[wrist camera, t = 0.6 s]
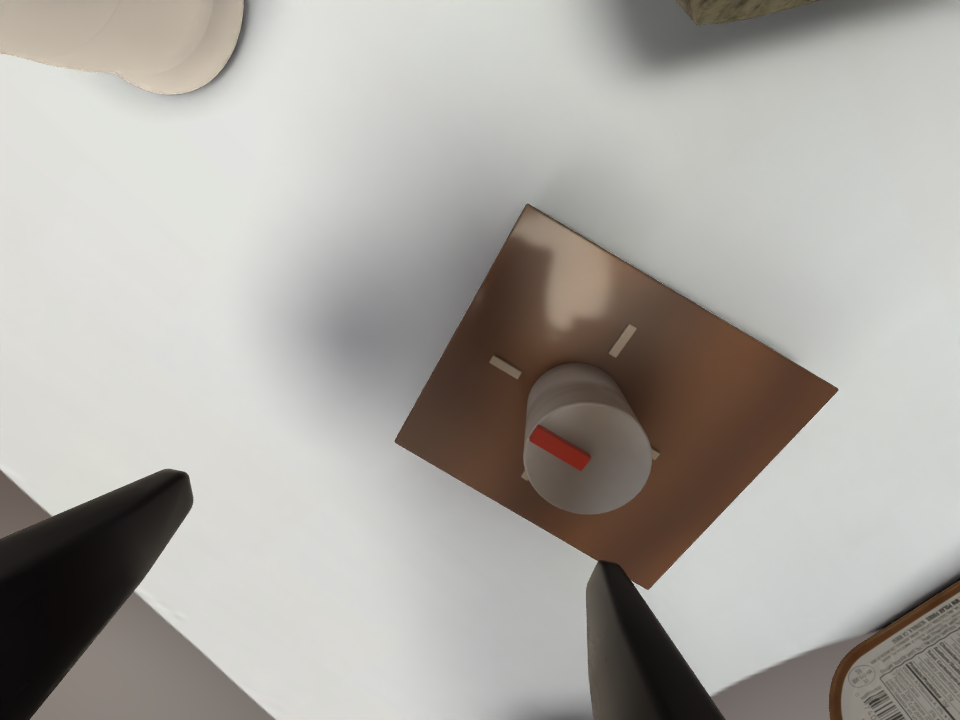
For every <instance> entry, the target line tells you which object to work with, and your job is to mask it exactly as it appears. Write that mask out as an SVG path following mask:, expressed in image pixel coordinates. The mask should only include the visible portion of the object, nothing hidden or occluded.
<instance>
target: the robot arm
mask: <svg viewBox="0 0 960 720" xmlns="http://www.w3.org/2000/svg"><path fill="white" fill-rule="evenodd" d="M192 505H193V494H192V489H191V484H190V479H189V475H188V474H187V473H186V472H183V471H178V470H173V469H164V470H161V471H159V472H156V473H154V474H152V475H149V476H147V477H145V478H142V479H140V480H138V481H135V482H133V483H130V484H128V485H126V486H123V487H121V488H119V489H116V490H114V491H112V492H109V493H107V494H105V495H102V496H100V497H97V498H95V499H93V500H90V501H88V502H86V503H83V504H81V505H79V506H76V507H74V508H72V509H69V510H67V511H64V512H62V513H60V514H57V515H55V516H53V517H51V518H48V519H46V520H43V521H41V522H39V523H36V524H34V525H31V526H29V527H27V528H25V529H22V530H20V531H17V532H15V533H13V534H10V535H8V536H6V537H3V538H1V539H0V720H30V718H31V717H32V716H33V715H34V714H35V712H36V711H37V710H38V709H39V707H40V706H41V705H42V704H43V702H44V701H45V700H46V699H47V697H48V696H49V695H50V694H51V693H52V691H53V690H54V689H55V688H56V686H57V685H58V684H59V683H60V682H61V680H62V679H63V678H64V676H65V675H66V674H67V673H68V672H69V670H70V669H71V668H72V667H73V665H74V664H75V663H76V662H77V661H78V659H79V658H80V657H81V656H82V654H83V653H84V652H85V651H86V649H87V648H88V647H89V646H90V645H91V643H92V642H93V641H94V640H95V638H96V637H97V636H98V634H99V633H100V632H101V631H102V630H103V629H104V627H105V626H106V625H107V624H108V622H109V621H110V620H111V619H112V617H113V616H114V615H115V614H116V612H117V611H118V610H119V609H120V608H121V606H122V605H123V604H124V603H125V601H126V600H127V599H128V598H129V597H130V595H131V594H132V593H133V592H134V590H135V589H136V588H137V586H138V585H139V584H140V583H141V581H142V580H143V579H144V577H145V576H146V574H147V573H148V572H149V570H150V569H151V567H152V566H153V565H154V563H155V562H156V560H157V559H158V557H159V556H160V554H161V553H162V551H163V550H164V548H165V547H166V545H167V544H168V542H169V541H170V539H171V538H172V536H173V535H174V534H175V532H176V531H177V529H178V528H179V526H180V525H181V523H182V522H183V520H184V519H185V517H186V516H187V514H188V513H189V511H190V510H191V507H192ZM586 612H587V646H588V673H589V684H590V693H591V701H592V709H593V717H594V720H726V719H725V718H724V717H723V715H722V714H721V712H720V711H719V709H718V708H717V706H716V705H715V703H714V702H713V700H712V699H711V697H710V696H709V695H708V693H707V692H706V690H705V689H704V687H703V686H702V684H701V683H700V681H699V680H698V678H697V677H696V675H695V674H694V672H693V671H692V670H691V668H690V667H689V665H688V664H687V662H686V661H685V659H684V658H683V656H682V655H681V653H680V652H679V650H678V649H677V648H676V646H675V645H674V643H673V642H672V640H671V639H670V637H669V636H668V634H667V633H666V631H665V630H664V628H663V627H662V626H661V624H660V623H659V621H658V620H657V618H656V617H655V615H654V614H653V612H652V611H651V609H650V608H649V606H648V605H647V604H646V602H645V601H644V599H643V598H642V596H641V595H640V593H639V592H638V590H637V589H636V587H635V586H634V584H633V583H632V581H631V580H630V579H629V577H628V576H627V574H626V573H625V571H624V570H623V568H622V567H621V566H620V565H619V564H618V563H615V562H610V561H605V560H600V561H598V563H597V564H596V566H595V569H594V571H593V573H592V575H591V577H590V579H589V581H588V584H587V588H586Z"/></svg>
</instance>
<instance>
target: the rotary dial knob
mask: <svg viewBox="0 0 960 720" xmlns="http://www.w3.org/2000/svg"><path fill="white" fill-rule="evenodd" d="M523 460H524V467H525V471H526V474H527V477H528V479H529V481H530V483H531V484H532V486H533V487H534V489H535V490H536V491H537V492H538V493H539V494H540V496H542V497H543V498H544V499H545V500H546V501H548V502H549V503H551V504H552V505H554V506H556V507H558V508H560V509H563V510H565V511H568V512H572V513H578V514H600V513H605V512H609V511H612V510H615V509H617V508H619V507H621V506H623V505H625V504H626V503H628V502H629V501H631V500H632V499H633V498H634V497H635V496H636V495H637V494H638V493H639V492H640V491H641V489H642V488H643V487H644V485H645V483H646V481H647V479H648V477H649V474H650V471H651V466H652V450H651V446H650V442H649V439H648V437H647V435H646V433H645V431H644V430H643V428H642V426H641V424H640V423H639V421H638V419H637V417H636V416H635V414H634V412H633V411H632V409H631V407H630V405H629V404H628V402H627V400H626V398H625V397H624V395H623V393H622V392H621V390H620V388H619V386H618V385H617V383H616V382H615V381H614V380H613V378H612V377H611V376H610V375H608V374H607V373H606V372H604V371H603V370H601V369H599V368H597V367H595V366H592V365H589V364H584V363H568V364H563V365H559V366H556V367H554V368H552V369H550V370H548V371H547V372H545V373H544V374H543V375H542V376H541V377H540V378H539V379H538V380H537V381H536V382H535V384H534V385H533V387H532V389H531V391H530V393H529V397H528V401H527V413H526V426H525V440H524V453H523Z"/></svg>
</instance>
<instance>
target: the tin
mask: <svg viewBox="0 0 960 720" xmlns="http://www.w3.org/2000/svg"><path fill="white" fill-rule="evenodd" d="M829 711H830V719H831V720H960V580H959V581H958V582H956V583H954V584H953V585H951V586H950V587H948V588H947V589H945V590H943V591H942V592H940V593H939V594H937V595H936V596H934V597H932V598H931V599H929V600H928V601H926V602H925V603H923V604H921V605H920V606H918V607H917V608H915V609H914V610H912V611H911V612H909V613H907V614H906V615H904V616H903V617H901V618H900V619H898V620H896V621H895V622H893V623H892V624H890V625H889V626H887V627H885V628H884V629H882V630H881V631H879V632H878V633H876V634H875V635H873V636H871V637H870V638H868V639H867V640H865V641H864V642H862V643H860V644H859V645H857V646H856V647H855V648H853V649H852V650H851V651H850V652H849V653H848V654H847V655H846V656H845V657H844V658H843V660H842V661H841V662H840V664H839V666H838V667H837V670H836V672H835V674H834V676H833V679H832V683H831V688H830V694H829Z"/></svg>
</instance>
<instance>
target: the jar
mask: <svg viewBox="0 0 960 720" xmlns="http://www.w3.org/2000/svg"><path fill="white" fill-rule="evenodd" d="M243 8H244V0H0V53H1V54H7V55H12V56H17V57H20V58H24V59H27V60H31V61H35V62H39V63H43V64H47V65H52V66H56V67H61V68H67V69H73V70H79V71H87V72H101V73H116V74H117V75H118V76H120V77H121V78H123V79H124V80H126V81H127V82H129V83H131V84H133V85H135V86H137V87H139V88H141V89H144V90H147V91H150V92H154V93H159V94H168V95H173V94H183V93H187V92H190V91H193V90H196V89H198V88H200V87H202V86H204V85H205V84H207V83H208V82H209V81H211V80H212V79H213V78H214V77H215V76H216V75H217V74H218V73H219V72H220V71H221V70H222V69H223V67H224V66H225V65H226V63H227V62H228V60H229V58H230V56H231V55H232V53H233V51H234V48H235V46H236V43H237V40H238V37H239V34H240V30H241V24H242V18H243Z"/></svg>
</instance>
